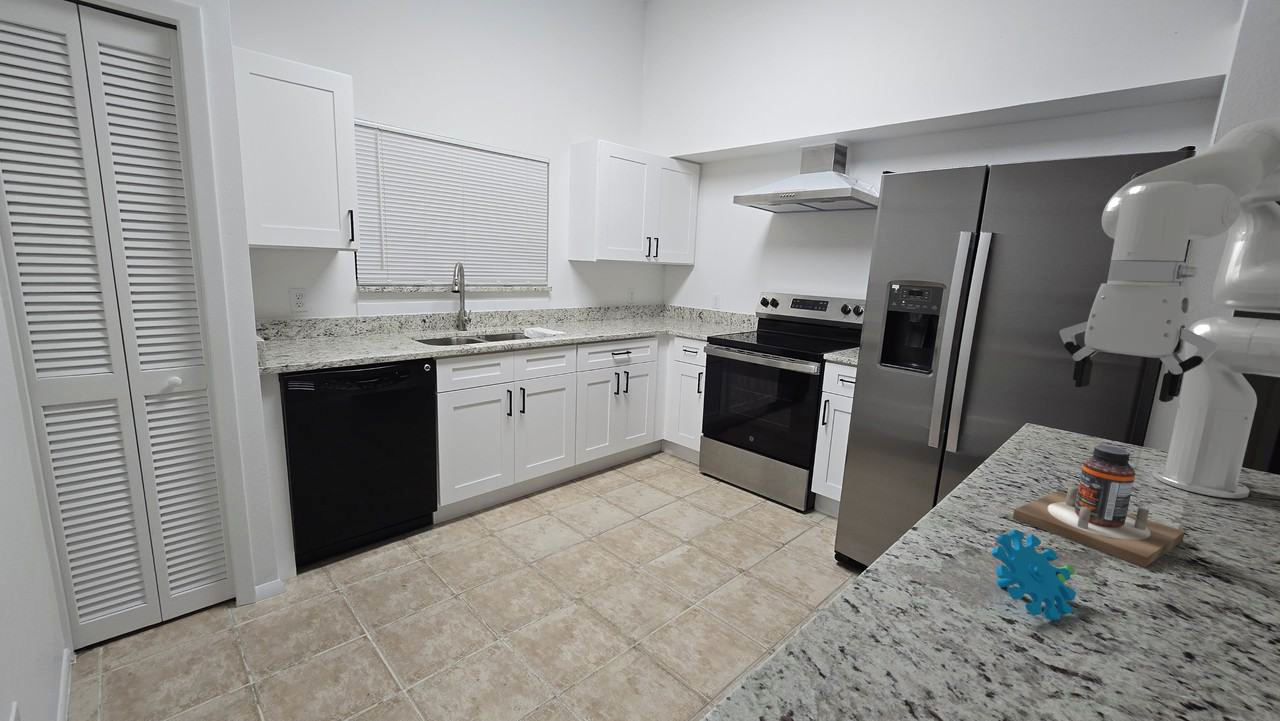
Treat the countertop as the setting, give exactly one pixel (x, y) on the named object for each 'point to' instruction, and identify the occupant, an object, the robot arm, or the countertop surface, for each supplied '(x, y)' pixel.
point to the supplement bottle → (1106, 486)
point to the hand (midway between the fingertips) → (1121, 393)
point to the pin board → (1101, 529)
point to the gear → (1033, 575)
